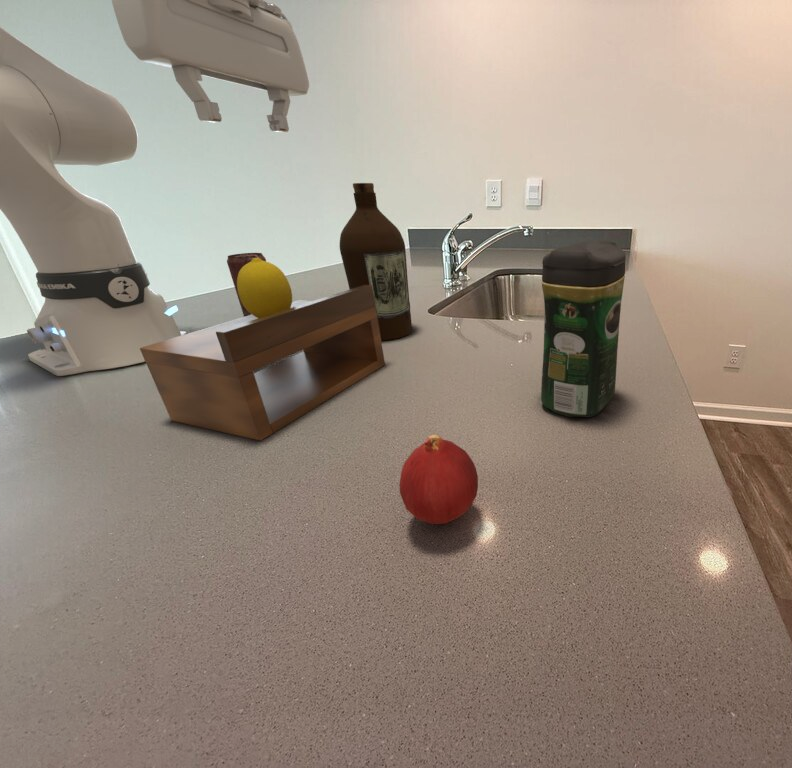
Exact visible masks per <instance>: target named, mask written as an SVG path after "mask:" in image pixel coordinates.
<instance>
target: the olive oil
mask: <svg viewBox="0 0 792 768" xmlns="http://www.w3.org/2000/svg"><path fill="white" fill-rule="evenodd" d="M352 188H353V191H354V192H353V198H354V204H355V210H354V212H353V214H352V215H351V217H350V218H349V220H348V221H347V222H346V223H345V225H344V227H343V228H342V230H341V232H340V236H339V252H340V257H341V261H342V265H343V269H344V272H345V277H346V281H347V285H348V290H350V289H353V288H356V287H359V286H362V285H372V289H373V295H374V301H375V306H376V312H377V319H378V325H379V331H380V337H381V342H382V341H392V340H397V339H400V338H403V337H405V336H408V335H409V334H411V333H412V331H413V325H412V324H413V322H412V314H411V302H410V291H409V280H408V267H407V266H408V265H407V252H406V244H405V240H404V238H403V235H402V233H401V231H400V229H398V226H396V225H395V224H394V223H393V222H392V221H391V220H390V219H389V218H388V217H387V216H386V215H384V213H383V212H382V211H380V209H379V207H378V203H377V202H378V201H377V195H376V192H375V190H374V189H375V185H374V183H373V182H353V183H352Z"/></svg>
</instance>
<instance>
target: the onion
mask: <svg viewBox="0 0 792 768" xmlns="http://www.w3.org/2000/svg"><path fill="white" fill-rule="evenodd" d="M478 488H479V475H478V471H477V467H476V465H475V464H474V461H473V459H472V458H471V457H470V455H469V454H468V453H467V451H466V450H465V449H463V448H462V447H461V446H459V445H457V444H456V443H454V442H453V441H451V440H448V439H443V438H442V437H441V436H439V435H437V434H431V435H430V436H428V437H427V438H426V440H424V442H423V443H422V444H421V445H419V446H418V447H416V448H414V450H413V451H412V452H411V453H410V454H409V456H408V457H407V459H406V460H405V461H404V463H403V465H402V468H401V472H400V479H399V494H400V497H401V500H402V503H403V505H404V507H405V509H406V510H407V511H408V512H409V513H410V514H411V515H412V516H413V517H414V518H416V519H417V520H419V521H420V522H425V523H428V524H432V525H446V524H448V523H450V522H451V521H453V520H456V519H458V518H459V517H461V516H462V515H464V514H466V513H467V512H468V510H469V509H470V508H471V506H472V504H473V503H474V501H475V500H476V497H477V495H478V494H477V493H478Z"/></svg>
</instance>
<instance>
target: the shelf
mask: <svg viewBox="0 0 792 768" xmlns="http://www.w3.org/2000/svg"><path fill="white" fill-rule="evenodd" d="M140 351H141V353H142V355H143V357H144V360H145V364H146V366H147V369H148V372H149V373H150V375H151V377H152V379H153V382H154V385H155V387H156V389H157V392H158V394H159V396H160V398H161V400H162V403H163V405H164V407H165V409H166V412H167V415H168V416H169V418H170V420H171V421H172V422H176V423H181V424H186V425H190V426H194V427H199V428H204V429H208V430H212V431H216V432H221V433H225V434H229V435H234V436H238V437H243V438H247V439H252V440H255V441H260V442H261V441H263V440H264V439H266V438H268V437H269V436H271V435H273V434H275V433H276V432H277V431H279V430H281V429H283V428H284V427H285V426H287V425H289V424H291V423H293V422H294V421H295V420H297V419H299V418H300V417H302V416H304V415H305V414H307V413H309V412H311V411H312V410H313V409H315V408H317V407H318V406H320V405H322V404H324V403H325V402H327V401H329V400H330V399H331V398H333V397H335V396H336V395H338V394H340V393H341V392H343V391H345V390H346V389H348V388H349V387H350V386H352V385H354V384H356V383H358V382H359V381H361V380H362V379H364V378H366V377H367V376H369V375H370V374H372V373H374V372H375V371H377V370H378V369H380V368H382V367H383V366H385V365H386V362H385V356H384V350H383V342H382V341H381V337H380V331H379V325H378V319H377V312H376V306H375V301H374V295H373V289H372V285H362V286H359V287H356V288H353V289H346V290H344V291H340V292H336V293H334V294H331V295H327V296H324V297H322V298H318V299H315V300H304V299H298V300H295V301H292V304H291V307H290V308H289V309H286V310H283V311H280V312H277V313H274V314H270V315H267V316H264V317H261V318H257V317H255V316H253V315H252V314H251V315H248V316H245V317H244V316H242V317H241V316H240V317H238V318H235V319H231V320H228V321H225V322H222V323H218V324H214V325H211V326H209V327H205V328H202V329H199V330H194V331H192V332H187V334H185V335H181V336H178V337H175V338H172V339H168V340H165V341H162V342H158V343H155V344H152V345H148V346H145V347H142V348H140ZM298 352H299V353H298ZM291 355H292V356H291ZM282 359H283V360H282ZM280 360H281V361H280ZM277 361H279V362H277ZM273 363H274V364H273ZM271 364H272V365H271ZM268 365H269V366H268ZM266 366H267V367H266ZM264 367H265V368H264ZM260 369H261V370H260ZM257 370H258V371H257ZM254 371H255V372H254Z"/></svg>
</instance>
